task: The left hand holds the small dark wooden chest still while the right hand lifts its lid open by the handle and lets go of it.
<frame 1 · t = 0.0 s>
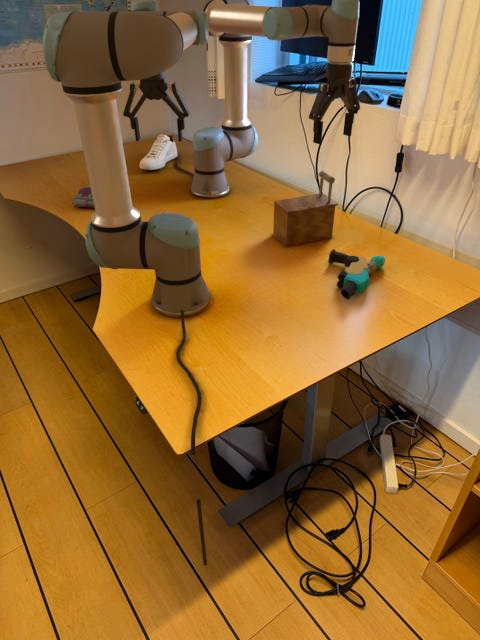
left hand: (159, 140, 150), 28 cm above the table, tool pointing down, fingers open, 13 cm apart
right hand: (332, 139, 148), 28 cm above the table, tool pointing down, fingers open, 13 cm apart
toy gun 2: (347, 279, 134), on the table
sneaker: (158, 164, 218), on the table
chest: (302, 236, 156), on the table
lid: (306, 191, 148), point 15 cm above the table, hinge at 0.0°
toy gun: (99, 203, 181), on the table
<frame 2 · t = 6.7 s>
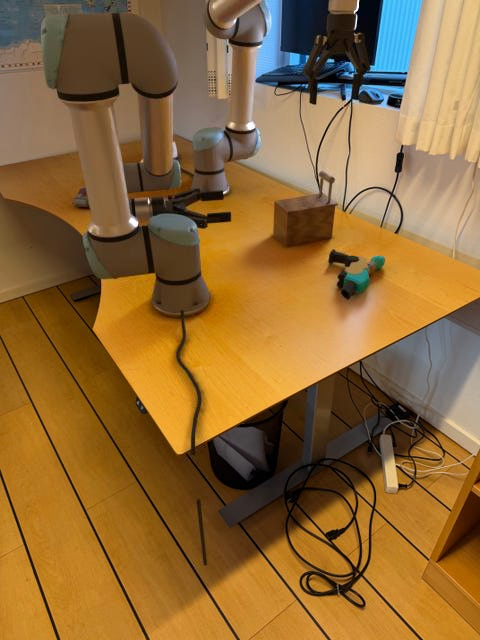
left hand: (227, 205, 136), 17 cm above the table, tool horizontal, fingers open, 13 cm apart
right hand: (333, 101, 135), 40 cm above the table, tool pointing down, fingers open, 13 cm apart
nothing on the table moved.
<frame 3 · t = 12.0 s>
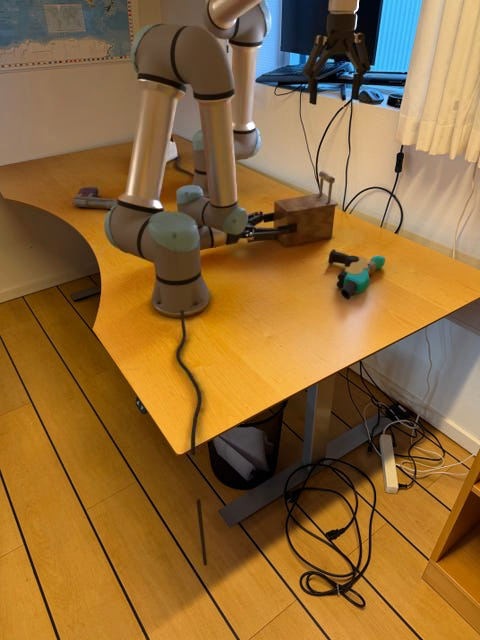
left hand: (289, 221, 151), 6 cm above the table, tool horizontal, fingers closed on chest, 9 cm apart
right hand: (333, 101, 135), 40 cm above the table, tool pointing down, fingers open, 13 cm apart
chest: (302, 236, 156), on the table, touching left hand
everything else where it was.
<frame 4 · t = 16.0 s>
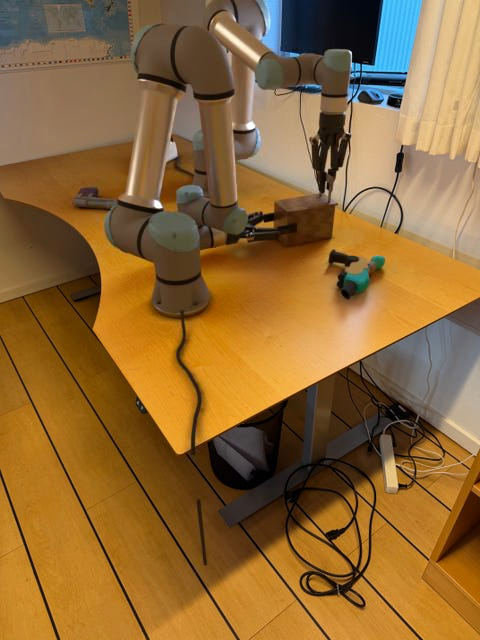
left hand: (289, 221, 151), 6 cm above the table, tool horizontal, fingers closed on chest, 9 cm apart
right hand: (325, 190, 150), 14 cm above the table, tool pointing down, fingers closed on lid, 2 cm apart
chest: (302, 236, 156), on the table, touching left hand
lid: (306, 190, 148), point 15 cm above the table, hinge at 0.2°, touching right hand
everything else where it was.
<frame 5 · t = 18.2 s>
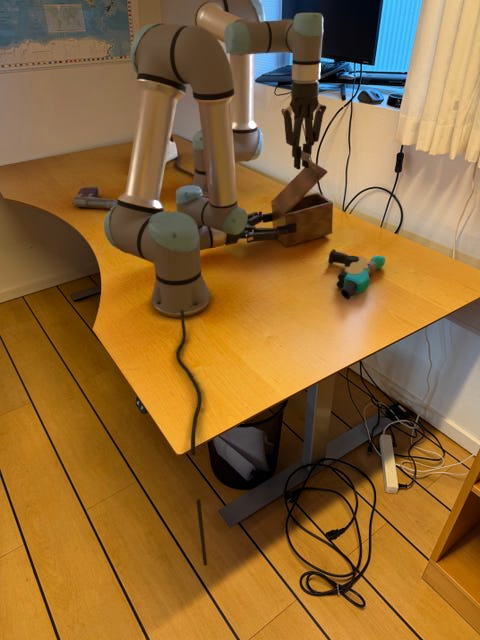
left hand: (288, 221, 151), 6 cm above the table, tool horizontal, fingers closed on chest, 10 cm apart
right hand: (301, 167, 142), 23 cm above the table, tool pointing down, fingers closed on lid, 2 cm apart
chest: (302, 234, 156), point 1 cm above the table, touching left hand
lid: (291, 178, 143), point 20 cm above the table, hinge at 35.0°, touching right hand
everything else where it was.
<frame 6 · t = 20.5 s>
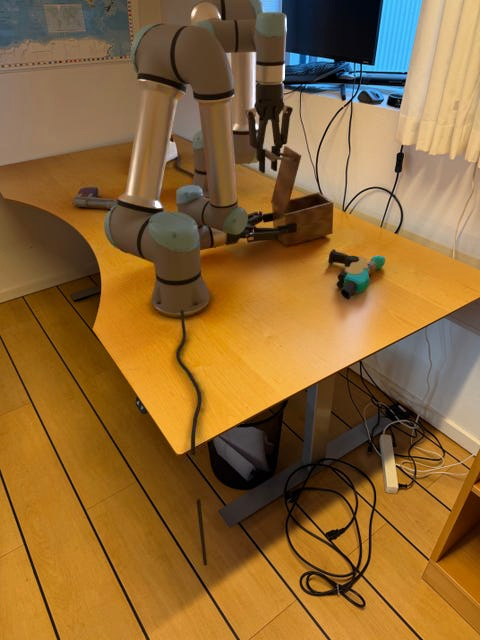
left hand: (288, 221, 151), 6 cm above the table, tool horizontal, fingers closed on chest, 9 cm apart
right hand: (267, 170, 139), 24 cm above the table, tool pointing down, fingers open, 3 cm apart
chest: (302, 233, 156), point 1 cm above the table, touching left hand
lid: (273, 179, 141), point 21 cm above the table, hinge at 72.1°
everything else where it was.
when the left hand's fingers open (6 cm above the table, at t = 24.6 s): chest stays where it is, on the table.
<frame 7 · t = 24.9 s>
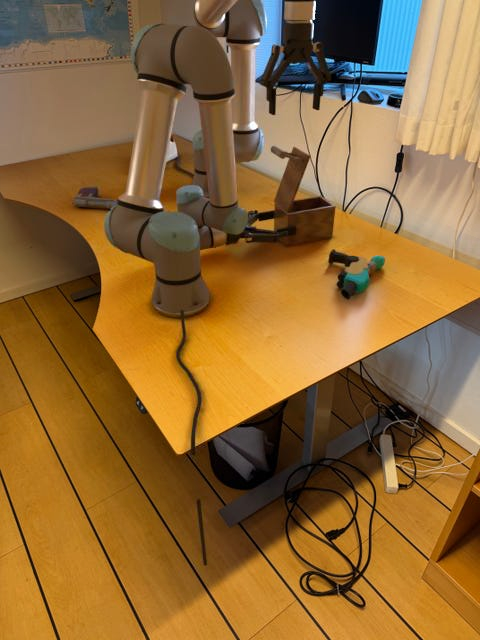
left hand: (286, 221, 151), 6 cm above the table, tool horizontal, fingers open, 13 cm apart
right hand: (294, 111, 132), 39 cm above the table, tool pointing down, fingers open, 13 cm apart
chest: (302, 235, 157), on the table
lid: (280, 177, 142), point 21 cm above the table, hinge at 69.9°
everything else where it was.
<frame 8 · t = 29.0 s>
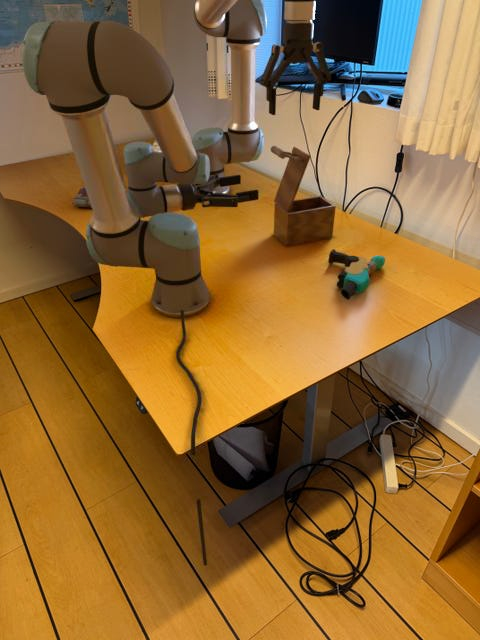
left hand: (248, 186, 139), 20 cm above the table, tool horizontal, fingers open, 13 cm apart
right hand: (294, 111, 132), 39 cm above the table, tool pointing down, fingers open, 13 cm apart
nothing on the table moved.
at the end: lid at +70° (first picture: +0°); the left hand is holding nothing; the right hand is holding nothing; chest tilted 0°; chest never tilted more than 5° during the clip; chest moved 0.3 cm from its start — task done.
